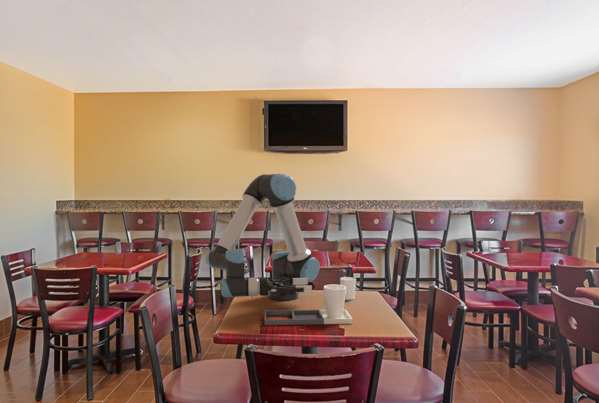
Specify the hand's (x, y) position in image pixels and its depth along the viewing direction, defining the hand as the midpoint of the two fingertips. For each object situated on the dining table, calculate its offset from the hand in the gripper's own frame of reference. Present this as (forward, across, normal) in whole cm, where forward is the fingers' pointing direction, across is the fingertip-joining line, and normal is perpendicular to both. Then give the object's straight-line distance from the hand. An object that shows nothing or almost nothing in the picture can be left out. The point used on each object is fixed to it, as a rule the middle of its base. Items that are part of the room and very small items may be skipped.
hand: (309, 284), depth 168 cm
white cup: (+23, -30, -15) cm, 41 cm away
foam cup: (+10, +2, -14) cm, 17 cm away
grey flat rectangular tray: (-1, +2, -14) cm, 14 cm away
